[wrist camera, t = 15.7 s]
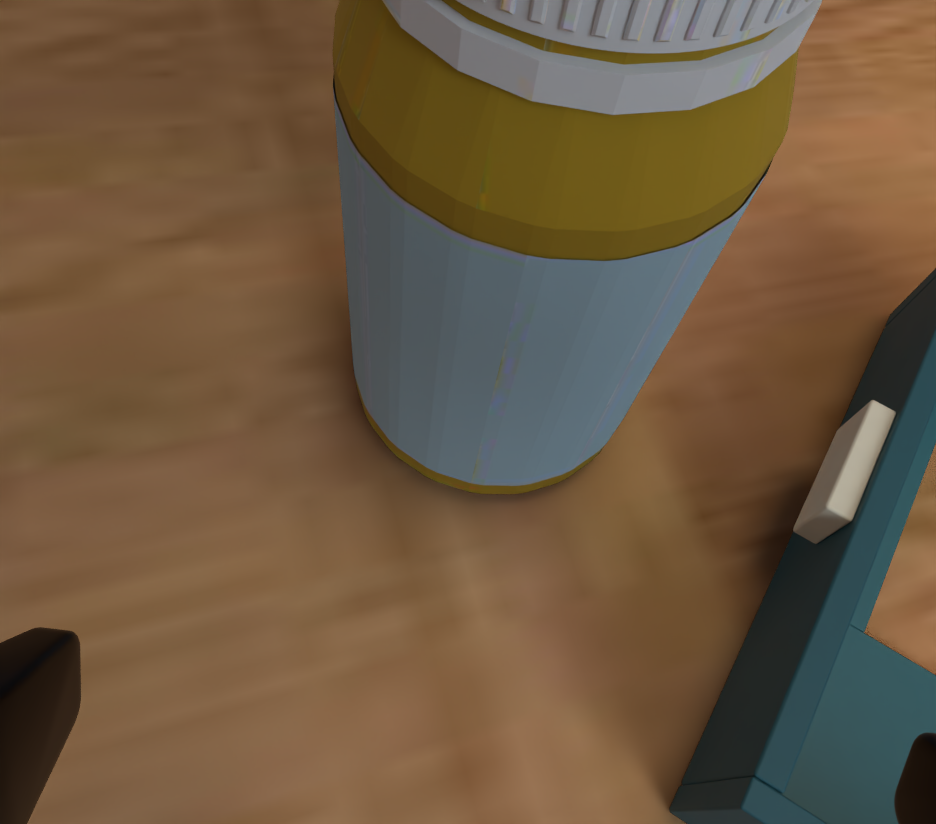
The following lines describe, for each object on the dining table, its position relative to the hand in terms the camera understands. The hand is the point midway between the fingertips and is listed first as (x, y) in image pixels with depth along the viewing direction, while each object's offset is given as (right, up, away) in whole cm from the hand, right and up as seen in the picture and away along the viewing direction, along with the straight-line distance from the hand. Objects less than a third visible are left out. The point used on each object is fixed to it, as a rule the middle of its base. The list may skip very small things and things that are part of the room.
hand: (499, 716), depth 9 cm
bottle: (0, +4, +13) cm, 14 cm away
